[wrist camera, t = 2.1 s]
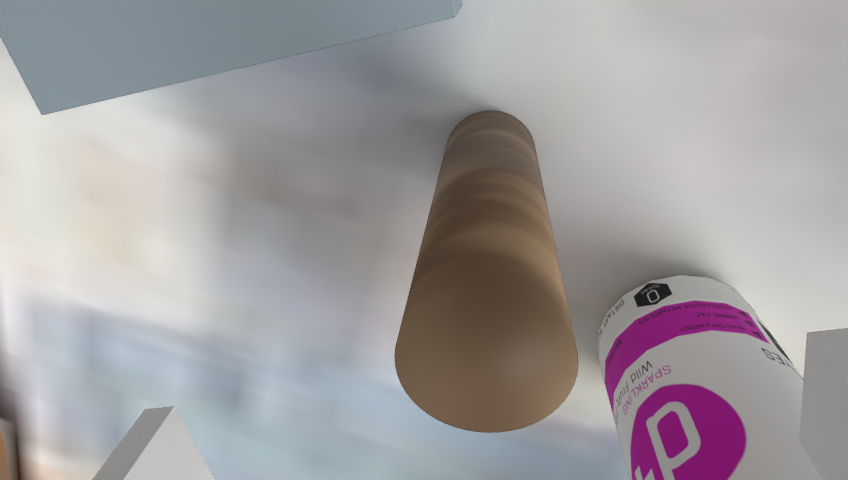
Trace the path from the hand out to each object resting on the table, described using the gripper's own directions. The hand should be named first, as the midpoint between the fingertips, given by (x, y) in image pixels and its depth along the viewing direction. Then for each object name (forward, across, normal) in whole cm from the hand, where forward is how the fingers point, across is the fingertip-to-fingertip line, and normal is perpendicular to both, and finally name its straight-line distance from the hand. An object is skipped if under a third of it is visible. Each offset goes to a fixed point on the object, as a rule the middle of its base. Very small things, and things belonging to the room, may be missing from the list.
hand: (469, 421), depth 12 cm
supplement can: (+18, -8, +12) cm, 23 cm away
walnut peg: (+18, 0, 0) cm, 18 cm away
